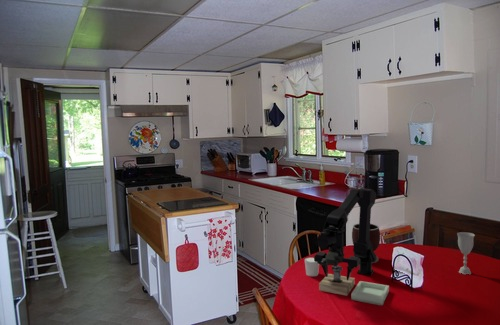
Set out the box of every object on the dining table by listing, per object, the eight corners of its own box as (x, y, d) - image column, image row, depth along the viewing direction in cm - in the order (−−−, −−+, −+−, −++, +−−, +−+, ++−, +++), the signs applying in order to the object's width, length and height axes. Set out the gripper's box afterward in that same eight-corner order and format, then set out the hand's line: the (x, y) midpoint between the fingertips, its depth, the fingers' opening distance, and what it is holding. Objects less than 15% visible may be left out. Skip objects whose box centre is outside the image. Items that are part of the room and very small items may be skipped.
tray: (359, 286, 171) (359, 280, 171) (388, 291, 165) (388, 285, 165) (351, 299, 159) (351, 293, 158) (382, 305, 153) (382, 299, 153)
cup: (319, 277, 183) (319, 262, 182) (304, 276, 184) (304, 261, 183) (319, 271, 189) (319, 257, 189) (305, 271, 191) (305, 256, 190)
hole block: (328, 280, 179) (327, 273, 178) (354, 284, 173) (354, 278, 173) (319, 290, 168) (319, 283, 168) (347, 295, 162) (347, 288, 162)
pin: (333, 284, 174) (333, 264, 173) (343, 286, 171) (343, 266, 171) (330, 288, 170) (330, 268, 169) (340, 290, 168) (340, 269, 167)
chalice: (456, 274, 180) (457, 235, 178) (455, 269, 186) (456, 231, 185) (475, 276, 177) (476, 237, 176) (472, 270, 184) (473, 232, 182)
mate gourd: (379, 264, 195) (379, 225, 193) (350, 262, 200) (350, 223, 198) (380, 254, 209) (380, 217, 207) (354, 252, 214) (353, 216, 212)
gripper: (309, 246, 166) (309, 281, 168) (353, 251, 157) (353, 289, 159) (318, 238, 176) (318, 272, 177) (360, 243, 167) (360, 279, 168)
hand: (337, 278), depth 170 cm, fingers open, 9 cm apart
